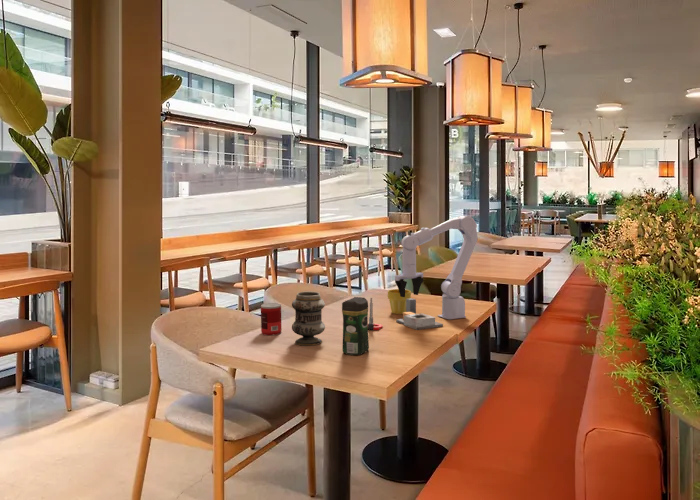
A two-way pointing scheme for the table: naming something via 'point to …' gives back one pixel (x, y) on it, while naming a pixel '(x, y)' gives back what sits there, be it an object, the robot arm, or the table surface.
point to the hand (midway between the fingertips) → (409, 295)
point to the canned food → (271, 318)
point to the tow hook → (370, 324)
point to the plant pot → (398, 301)
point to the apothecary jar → (308, 317)
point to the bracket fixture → (418, 321)
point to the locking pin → (411, 305)
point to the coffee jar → (355, 326)
